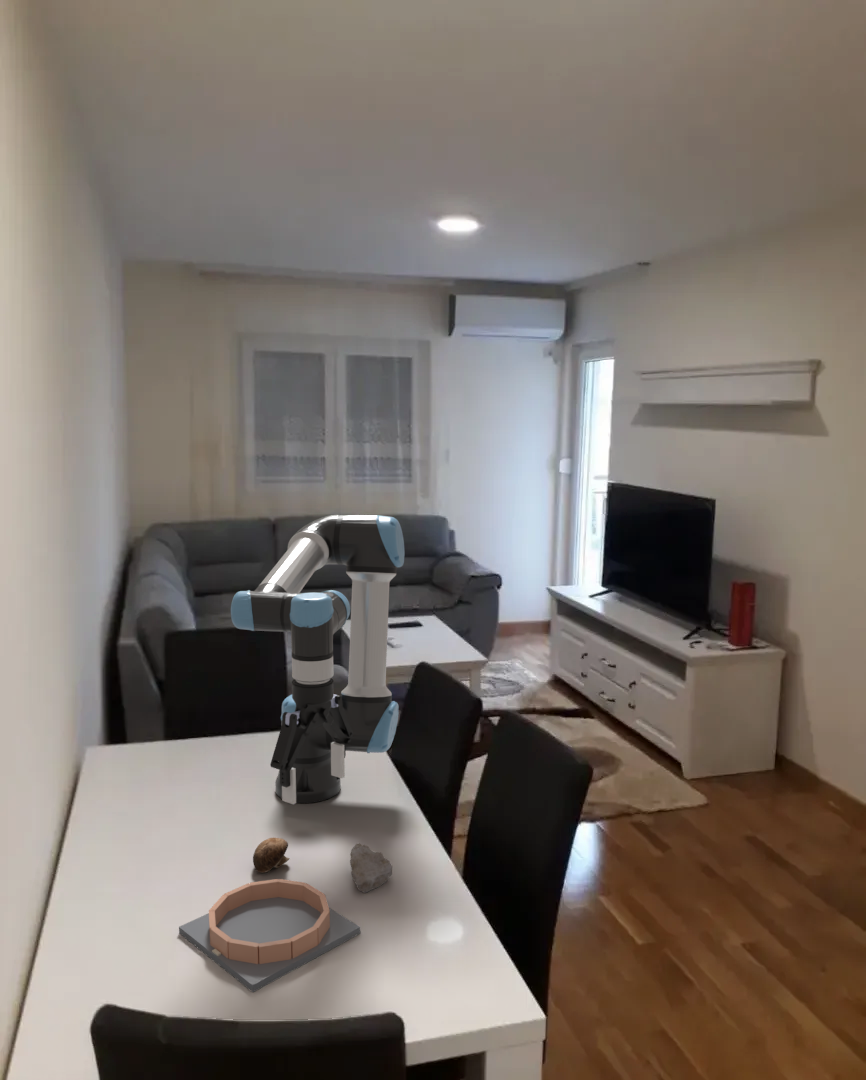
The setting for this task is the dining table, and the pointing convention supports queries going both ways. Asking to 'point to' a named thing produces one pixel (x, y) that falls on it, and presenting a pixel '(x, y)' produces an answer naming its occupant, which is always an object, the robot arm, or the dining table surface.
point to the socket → (268, 930)
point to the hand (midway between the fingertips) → (314, 788)
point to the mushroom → (270, 854)
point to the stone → (369, 868)
